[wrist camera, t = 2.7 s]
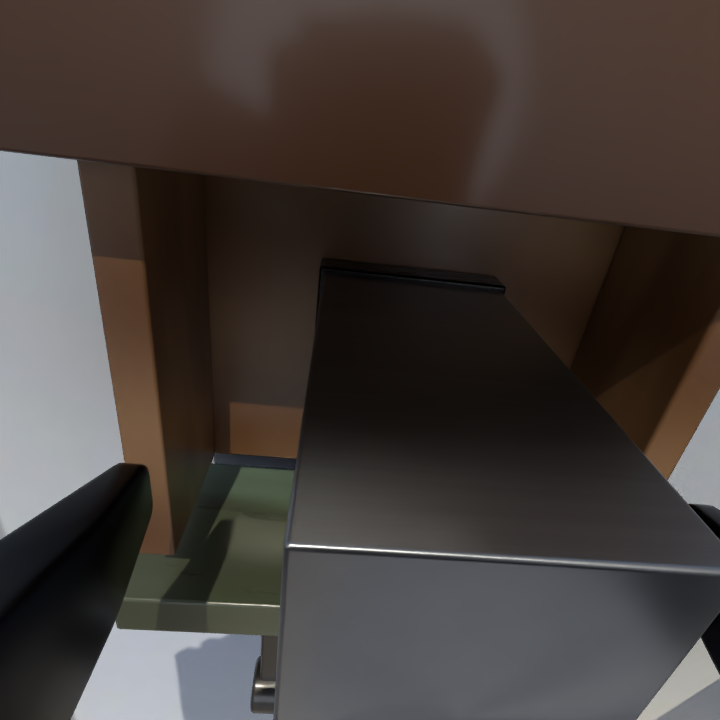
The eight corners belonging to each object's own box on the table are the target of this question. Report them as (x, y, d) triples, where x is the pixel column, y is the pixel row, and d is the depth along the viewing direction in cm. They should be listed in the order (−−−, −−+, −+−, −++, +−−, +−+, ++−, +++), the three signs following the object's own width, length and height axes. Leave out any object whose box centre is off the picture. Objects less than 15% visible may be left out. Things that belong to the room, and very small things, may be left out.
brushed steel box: (451, 447, 13) (569, 820, 6) (306, 436, 13) (260, 815, 6) (497, 275, 11) (770, 567, 4) (321, 256, 11) (270, 536, 4)
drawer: (505, 590, 18) (553, 734, 14) (187, 573, 17) (135, 721, 13) (746, 5, 9) (1070, -83, 5) (129, -95, 9) (-88, -305, 4)
